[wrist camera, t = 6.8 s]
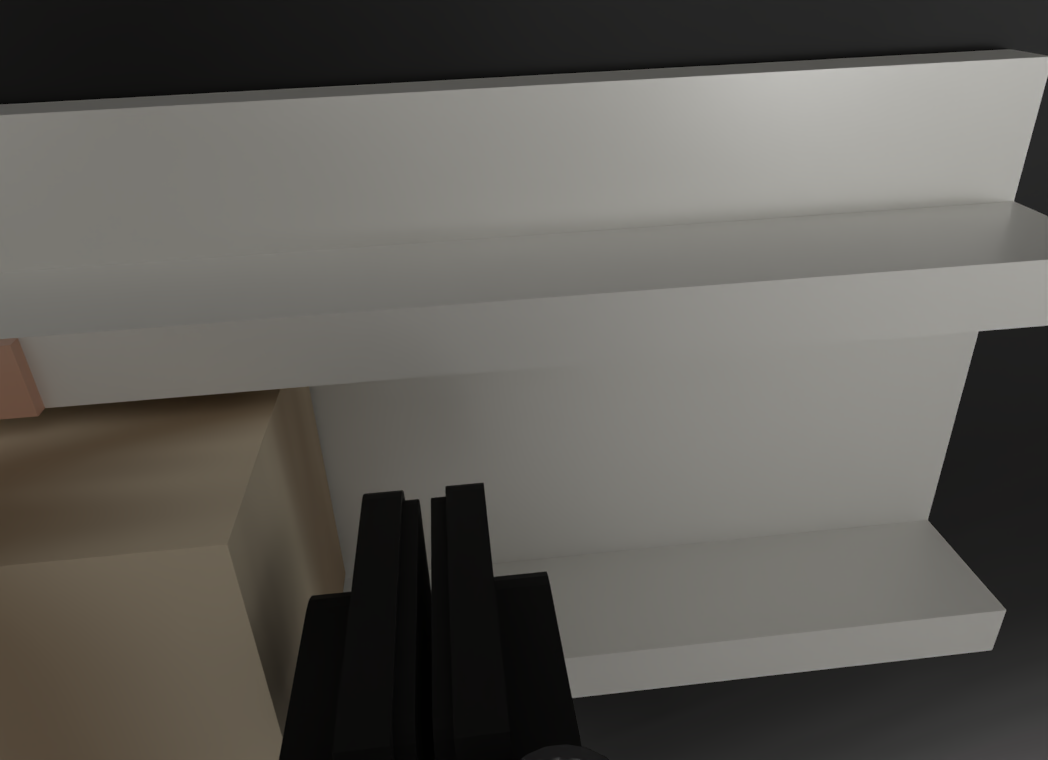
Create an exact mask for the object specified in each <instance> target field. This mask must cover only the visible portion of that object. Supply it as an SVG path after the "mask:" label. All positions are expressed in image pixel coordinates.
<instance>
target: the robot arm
mask: <svg viewBox="0 0 1048 760" xmlns="http://www.w3.org/2000/svg"><path fill="white" fill-rule="evenodd" d="M445 493H446V496H445V497H435V498H431V586H430V578H429V570H428V562H427V554H426V546H425V538H424V530H423V522H422V515H421V507H420V501H419V499H414V500H405V495H404V491H403V490H398V491H388V492H377V493H366V494H364V495H363V497H362V504H361V512H360V521H359V529H358V538H357V546H356V554H355V563H354V571H353V580H352V588H351V592H342V593H332V594H322V595H313V596H311V597H310V599H309V601H308V605H307V609H306V614H305V619H304V625H303V630H302V636H301V641H300V647H299V652H298V658H297V663H296V668H295V674H294V679H293V685H292V690H291V696H290V701H289V707H288V712H287V718H286V723H285V728H284V734H283V739H282V745H281V750H280V756H279V760H609V759H608V758H607V757H605V756H603V755H601V754H599V753H597V752H595V751H593V750H591V749H588V748H586V747H581V741H580V736H579V731H578V726H577V721H576V716H575V710H574V705H573V700H572V695H571V690H570V685H569V679H568V674H567V669H566V664H565V659H564V654H563V648H562V643H561V638H560V633H559V628H558V623H557V617H556V612H555V607H554V602H553V597H552V592H551V586H550V582H549V577H548V574H547V571H545V572H535V573H526V574H516V575H506V576H497V577H494V575H493V566H492V556H491V547H490V537H489V528H488V518H487V509H486V500H485V490H484V482H483V483H473V484H462V485H451V486H446V487H445Z"/></svg>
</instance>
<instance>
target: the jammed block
mask: <svg viewBox="0 0 1048 760" xmlns="http://www.w3.org/2000/svg"><path fill="white" fill-rule="evenodd" d="M345 574H346V573H345V568H344V563H343V558H342V553H341V548H340V543H339V538H338V533H337V527H336V522H335V517H334V512H333V507H332V502H331V497H330V492H329V487H328V481H327V476H326V471H325V466H324V461H323V456H322V451H321V446H320V441H319V435H318V430H317V425H316V420H315V415H314V410H313V405H312V400H311V395H310V390H309V386H308V387H296V388H284V389H272V390H260V391H248V392H236V393H223V394H211V395H199V396H187V397H175V398H163V399H151V400H139V401H126V402H114V403H102V404H90V405H78V406H66V407H54V408H45V409H44V410H43V411H42V413H41V414H40V415H39V416H36V417H24V418H12V419H0V760H279V756H280V750H281V745H282V739H283V734H284V728H285V723H286V718H287V712H288V707H289V701H290V696H291V690H292V685H293V679H294V674H295V668H296V663H297V658H298V652H299V647H300V641H301V636H302V630H303V625H304V619H305V614H306V609H307V605H308V601H309V599H310V597H311V596H313V595H322V594H332V593H342V592H343V589H344V582H345Z"/></svg>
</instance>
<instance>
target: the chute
mask: <svg viewBox="0 0 1048 760" xmlns="http://www.w3.org/2000/svg"><path fill="white" fill-rule="evenodd" d="M1047 76H1048V56H1047V55H1041V54H1035V53H1029V52H1024V51H1018V50H1012V49H1003V50H985V51H967V52H948V53H930V54H912V55H894V56H876V57H857V58H839V59H821V60H803V61H784V62H766V63H748V64H730V65H712V66H693V67H675V68H657V69H639V70H620V71H602V72H584V73H566V74H548V75H529V76H511V77H493V78H475V79H457V80H438V81H420V82H402V83H384V84H365V85H347V86H329V87H311V88H293V89H274V90H256V91H238V92H220V93H201V94H183V95H165V96H147V97H129V98H110V99H92V100H74V101H56V102H37V103H19V104H1V105H0V419H12V418H24V417H36V416H39V415H40V414H41V413H42V411H43V410H44V409H45V408H54V407H66V406H78V405H90V404H102V403H114V402H126V401H139V400H151V399H163V398H175V397H187V396H199V395H211V394H223V393H236V392H248V391H260V390H272V389H284V388H296V387H308V386H309V390H310V395H311V400H312V405H313V410H314V415H315V420H316V425H317V430H318V435H319V441H320V446H321V451H322V456H323V461H324V466H325V471H326V476H327V481H328V487H329V492H330V497H331V502H332V507H333V512H334V517H335V522H336V527H337V533H338V538H339V543H340V548H341V553H342V558H343V563H344V568H345V573H346V574H345V582H344V589H343V592H351V588H352V580H353V571H354V563H355V554H356V546H357V538H358V529H359V521H360V512H361V504H362V497H363V495H364V494H366V493H377V492H388V491H398V490H403V491H404V495H405V500H414V499H419V501H420V507H421V515H422V522H423V530H424V538H425V546H426V554H427V562H428V570H429V578H430V586H431V498H435V497H445V496H446V493H445V487H446V486H451V485H462V484H473V483H483V482H484V490H485V500H486V509H487V518H488V528H489V537H490V547H491V556H492V566H493V575H494V577H497V576H506V575H516V574H526V573H535V572H545V571H547V574H548V577H549V582H550V586H551V592H552V597H553V602H554V607H555V612H556V617H557V623H558V628H559V633H560V638H561V643H562V648H563V654H564V659H565V664H566V669H567V674H568V679H569V685H570V690H571V695H572V698H578V697H586V696H595V695H604V694H613V693H621V692H630V691H639V690H648V689H657V688H665V687H674V686H683V685H692V684H700V683H709V682H718V681H727V680H735V679H744V678H753V677H762V676H771V675H779V674H788V673H797V672H806V671H814V670H823V669H832V668H841V667H850V666H858V665H867V664H876V663H885V662H893V661H902V660H911V659H920V658H928V657H937V656H946V655H955V654H964V653H972V652H981V651H990V650H992V649H993V646H994V644H995V641H996V638H997V635H998V632H999V630H1000V627H1001V624H1002V621H1003V618H1004V616H1005V613H1006V609H1005V608H1004V607H1003V606H1002V604H1001V603H1000V602H999V601H998V600H997V599H996V598H995V596H994V595H993V594H992V593H991V592H990V591H989V590H988V588H987V587H986V586H985V585H984V584H983V583H982V582H981V580H980V579H979V578H978V577H977V576H976V575H975V574H974V572H973V571H972V570H971V569H970V568H969V567H968V566H967V564H966V563H965V562H964V561H963V560H962V559H961V557H960V556H959V555H958V554H957V553H956V552H955V551H954V549H953V548H952V547H951V546H950V545H949V544H948V543H947V541H946V540H945V539H944V538H943V537H942V536H941V535H940V533H939V532H938V531H937V530H936V529H935V528H934V527H933V525H932V524H931V523H930V522H929V521H928V517H929V514H930V510H931V506H932V503H933V499H934V495H935V491H936V488H937V484H938V480H939V477H940V473H941V469H942V466H943V462H944V458H945V454H946V451H947V447H948V443H949V440H950V436H951V432H952V428H953V425H954V421H955V417H956V414H957V410H958V406H959V403H960V399H961V395H962V391H963V388H964V384H965V380H966V377H967V373H968V369H969V365H970V362H971V358H972V354H973V351H974V347H975V343H976V340H977V336H978V332H979V331H987V330H1000V329H1012V328H1024V327H1036V326H1048V216H1047V215H1044V214H1042V213H1040V212H1037V211H1035V210H1033V209H1030V208H1028V207H1026V206H1023V205H1021V204H1019V203H1016V202H1014V199H1015V195H1016V191H1017V188H1018V184H1019V180H1020V176H1021V173H1022V169H1023V165H1024V162H1025V158H1026V154H1027V151H1028V147H1029V143H1030V139H1031V136H1032V132H1033V128H1034V125H1035V121H1036V117H1037V113H1038V110H1039V106H1040V102H1041V99H1042V95H1043V91H1044V88H1045V84H1046V80H1047Z"/></svg>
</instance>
